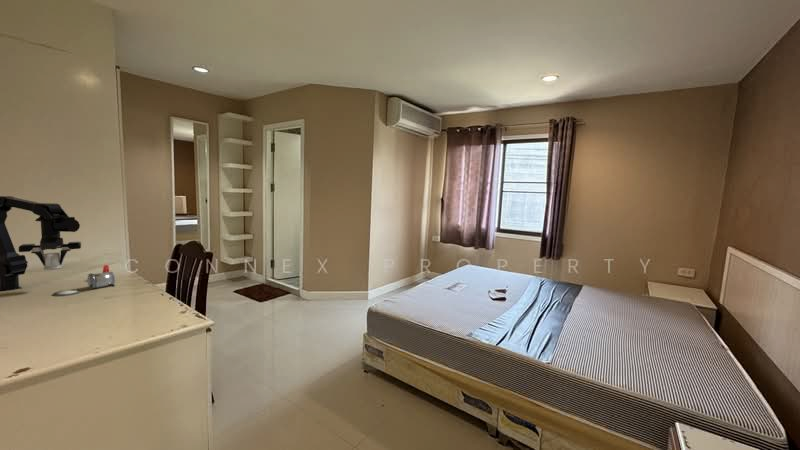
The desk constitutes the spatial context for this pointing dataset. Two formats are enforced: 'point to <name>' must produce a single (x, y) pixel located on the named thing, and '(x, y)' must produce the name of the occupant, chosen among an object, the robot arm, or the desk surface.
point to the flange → (67, 292)
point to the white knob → (52, 261)
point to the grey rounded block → (101, 280)
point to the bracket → (105, 268)
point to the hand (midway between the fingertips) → (52, 265)
